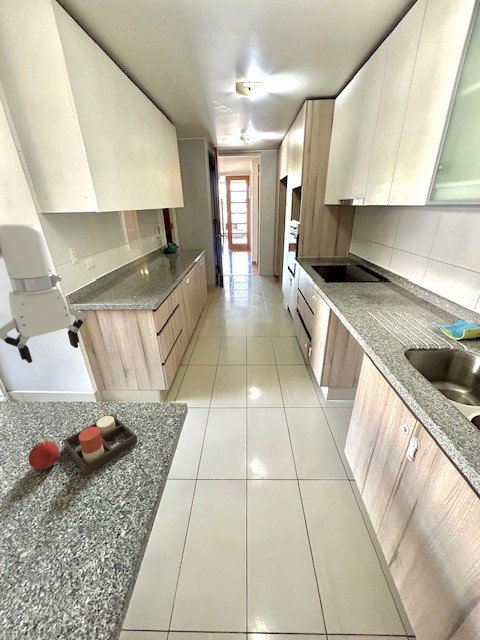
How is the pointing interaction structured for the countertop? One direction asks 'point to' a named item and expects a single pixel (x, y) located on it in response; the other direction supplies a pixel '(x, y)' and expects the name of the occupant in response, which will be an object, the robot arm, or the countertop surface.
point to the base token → (93, 455)
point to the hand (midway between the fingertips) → (53, 353)
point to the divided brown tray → (108, 450)
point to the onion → (43, 455)
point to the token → (106, 424)
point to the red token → (90, 440)
